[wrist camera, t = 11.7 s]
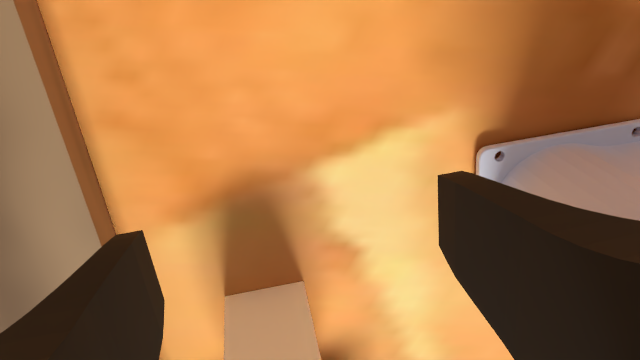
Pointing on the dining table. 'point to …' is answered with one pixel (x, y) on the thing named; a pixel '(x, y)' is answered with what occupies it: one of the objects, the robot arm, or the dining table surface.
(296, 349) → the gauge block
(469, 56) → the dining table surface
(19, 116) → the walnut plank
